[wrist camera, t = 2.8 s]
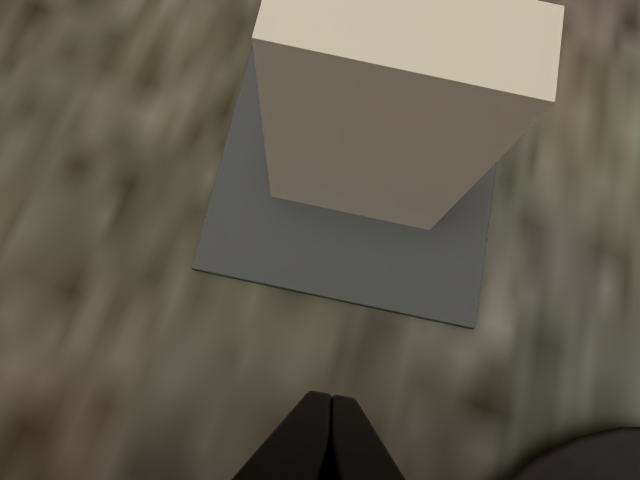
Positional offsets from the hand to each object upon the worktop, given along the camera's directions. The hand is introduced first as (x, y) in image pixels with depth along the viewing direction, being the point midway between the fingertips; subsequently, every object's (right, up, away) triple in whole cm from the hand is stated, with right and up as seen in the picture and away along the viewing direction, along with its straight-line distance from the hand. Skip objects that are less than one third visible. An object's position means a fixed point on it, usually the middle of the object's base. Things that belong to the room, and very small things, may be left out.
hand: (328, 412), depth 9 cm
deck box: (+1, +5, +14) cm, 15 cm away
